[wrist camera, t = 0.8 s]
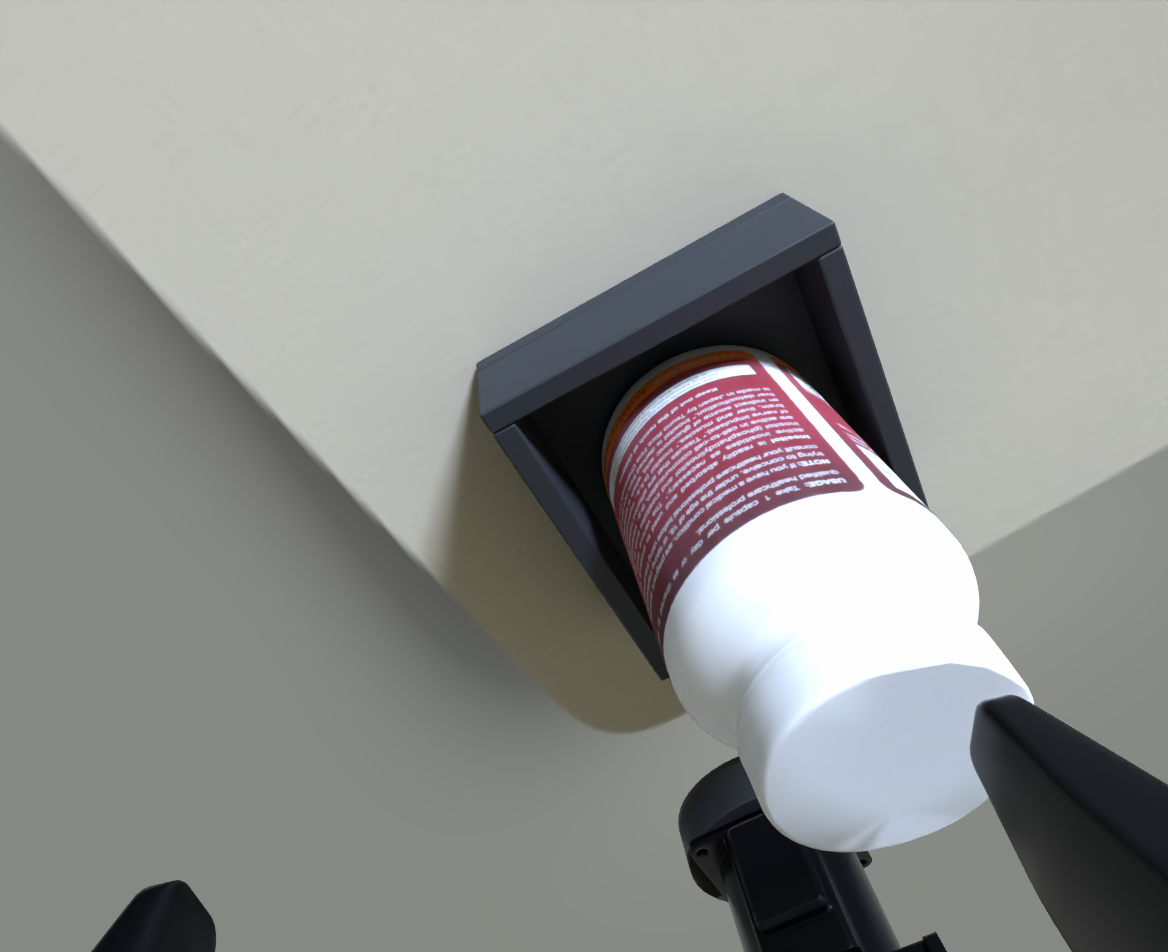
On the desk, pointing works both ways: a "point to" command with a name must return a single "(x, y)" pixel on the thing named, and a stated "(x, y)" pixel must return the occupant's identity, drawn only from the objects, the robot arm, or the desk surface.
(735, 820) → the robot arm
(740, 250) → the tray
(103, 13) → the desk surface
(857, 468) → the pill bottle
